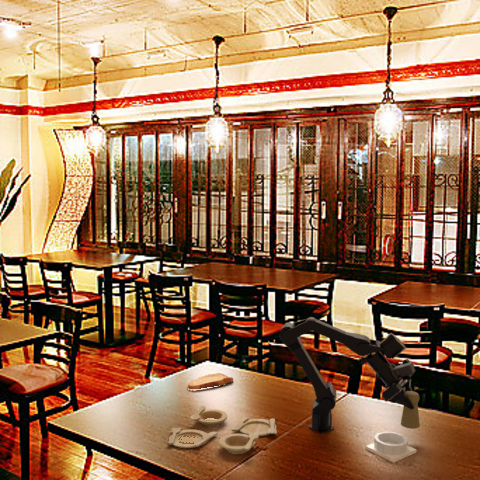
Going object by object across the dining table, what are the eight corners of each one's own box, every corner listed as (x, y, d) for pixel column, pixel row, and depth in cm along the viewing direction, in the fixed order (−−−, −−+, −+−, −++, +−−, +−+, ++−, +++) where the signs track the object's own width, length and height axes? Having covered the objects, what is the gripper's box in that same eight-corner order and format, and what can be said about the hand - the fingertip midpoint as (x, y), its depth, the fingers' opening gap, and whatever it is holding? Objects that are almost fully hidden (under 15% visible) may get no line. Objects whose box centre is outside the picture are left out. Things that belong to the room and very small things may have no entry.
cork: (420, 429, 180) (422, 396, 179) (401, 427, 181) (402, 394, 180) (418, 421, 186) (419, 389, 185) (399, 420, 187) (400, 388, 186)
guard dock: (393, 462, 169) (393, 449, 169) (365, 448, 178) (365, 436, 178) (416, 452, 176) (416, 440, 175) (388, 439, 184) (388, 428, 184)
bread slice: (185, 392, 230) (185, 383, 230) (195, 377, 248) (195, 369, 247) (228, 394, 227) (228, 385, 227) (235, 379, 245) (235, 371, 245)
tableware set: (285, 425, 197) (285, 414, 197) (260, 463, 170) (260, 451, 169) (193, 412, 208) (193, 402, 208) (157, 446, 181) (157, 434, 181)
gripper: (393, 361, 175) (428, 401, 171) (406, 346, 192) (439, 383, 187) (367, 381, 180) (401, 421, 175) (383, 365, 196) (414, 401, 192)
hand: (415, 406), depth 182 cm, fingers closed on cork, 5 cm apart
